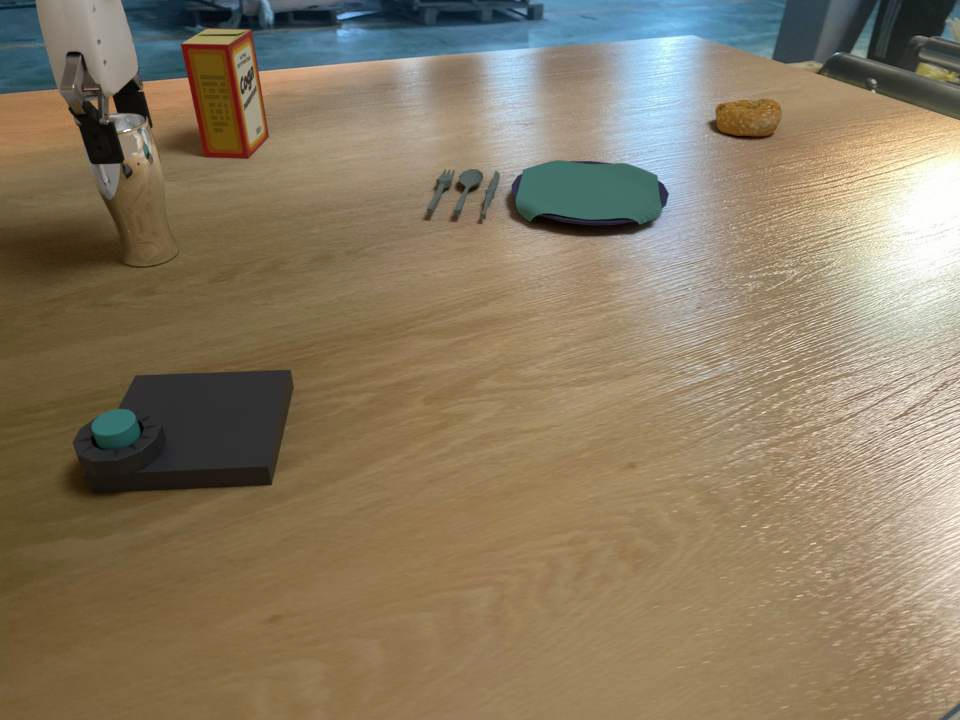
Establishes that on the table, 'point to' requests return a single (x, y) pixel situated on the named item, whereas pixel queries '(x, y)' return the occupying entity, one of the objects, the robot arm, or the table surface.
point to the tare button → (115, 429)
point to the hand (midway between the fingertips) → (123, 145)
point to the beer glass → (136, 194)
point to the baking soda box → (226, 92)
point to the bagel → (748, 117)
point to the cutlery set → (573, 192)
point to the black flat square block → (194, 432)
